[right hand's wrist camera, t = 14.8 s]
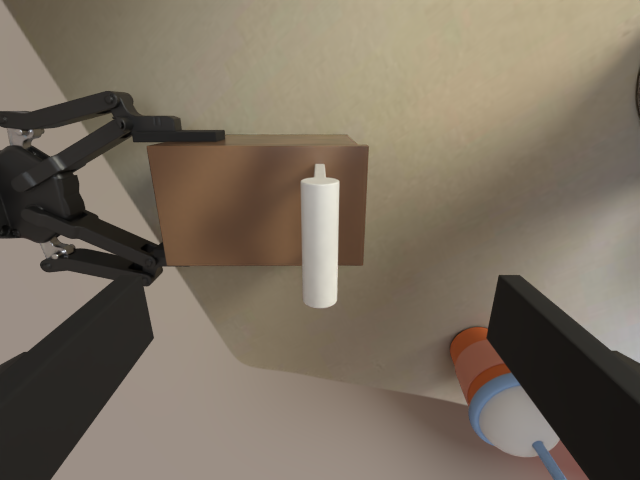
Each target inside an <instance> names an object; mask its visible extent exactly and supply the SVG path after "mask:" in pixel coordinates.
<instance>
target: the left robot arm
mask: <svg viewBox="0 0 640 480" xmlns="http://www.w3.org/2000/svg"><path fill="white" fill-rule="evenodd" d="M109 113H112V114H113V116H114V117H112V118H113V119H114V120H112V121H111V122H109V123H107V124H106V125H104V126H102V127H101V128H99V129H98V130H96V131H94V132H93V133H91V134H89V135H88V136H86V137H85V138H83V139H81V140H80V141H78V142H76V143H75V144H73V145H71V146H70V147H68V148H66V149H65V150H63V151H62V152H60V153H58V154H57V155H54V156H51V157H50V156H48V155H47V154H45V153H43V152H42V151H40V150H39V149H37V148H35V147H34V146H31V141H32V140H33V139H35V138H39V137H40V136H41V135H42V134H43V133H44V129H46V128H56V127H60V126H64V125H68V124H72V123H75V122H79V121H83V120H87V119H90V118H94V117H98V116H101V115H105V114H109ZM0 126H1V127H4V128H7V132H8V137H9V142H10V146H7V147H6V148H4V149H3V150H0V238H26V239H29V240H31V241H33V242H36V243H40V245H41V247H42V250H43V252H44V254H45V257H46V259H45V260H43V261H42V262H41V263H40V266H41V268H42V270H44V271H46V272H57V271H67V270H68V271H73V272H78V273H82V274H88V275H92V276H97V277H102V278H107V279H112V280H115V279H116V278H117V277H119V276H120V275H141V277H142V282H143V286H149V285H150V284H151V283H153V281H154V280H155V279H156V278H157V277H158V276H159V275H160V274H161V273H162V272H163V268H162V266H167V263H166V257H165V251H164V245H163V242H162V243H161V244H159V245H157V244H155V243H152V242H150V241H148V240H146V239H143V238H141V237H139V236H137V235H134V234H132V233H130V232H127V231H125V230H123V229H121V228H118V227H116V226H114V225H112V224H109V223H107V222H105V221H103V220H100V219H99V218H98V216H97V215H96V214H93V213H91V212H89V211H87V210H85V205H84V201H83V199H82V197H81V195H80V194H79V181H78V177H77V175H73V172H75V171H77V170H78V169H80V168H82V167H83V166H85V165H86V163H88V162H89V161H91V160H93V159H95V158H96V157H98V156H100V155H101V154H103V153H105V152H106V151H108V150H110V149H111V148H113V147H115V146H116V145H118V144H120V143H121V142H123V141H125V140H126V139H128V138H130V137H131V136H132V137H133V142H217V141H221V140H224V139H225V131H224V130H182V128H181V120H180V118H178V117H175V116H143V115H140V114H139V113H138V112H137V111H136V110H135V108H134V106H133V98H132V96H131V95H130V94H128V93H125V92H114V91H105V92H101V93H97V94H94V95H90V96H87V97H83V98H79V99H76V100H72V101H68V102H65V103H61V104H58V105H54V106H50V107H47V108H43V109H40V110H36V111H32V112H29V111H0ZM60 235H63V236H65V237H67V238H71V239H81V240H83V241H85V242H88V243H90V244H92V245H95V246H97V247H99V248H102V249H104V250H106V251H109V252H111V253H113V254H116V255H113V254H108V253H103V252H99V251H94V250H89V249H75V246H74V245H72V244H70V245H68V244H63V243H61V242H60V241H59V240H58V239H57V237H58V236H60Z"/></svg>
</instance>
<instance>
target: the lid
mask: <svg viewBox="0 0 640 480" xmlns="http://www.w3.org/2000/svg"><path fill="white" fill-rule="evenodd" d="M368 151H369V146H368V145H149V146H147V152H148V158H149V164H150V169H151V175H152V181H153V187H154V193H155V199H156V204H157V210H158V216H159V222H160V228H161V234H162V240H163V245H164V251H165V257H166V263H167V266H302V280H303V301H304V303H305V304H306V305H308V306H310V307H313V308H327V307H330V306H332V305H334V304H335V303H336V301H337V278H338V265H363V255H364V234H365V213H366V193H367V172H368Z"/></svg>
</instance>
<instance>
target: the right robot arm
mask: <svg viewBox="0 0 640 480" xmlns="http://www.w3.org/2000/svg"><path fill="white" fill-rule="evenodd" d="M637 100H638V108H639V113H640V76H639V81H638V90H637ZM153 338H154V336H153V331H152V327H151V322H150V317H149V312H148V307H147V302H146V297H145V292H144V287H143V282H142V277H141V275H120V276H119V277H117V278H116V279H115V280H114V281H113V282H111V283H110V284H109V285H108V286H107V287H105V288H104V289H103V290H102V291H101V292H99V293H98V294H97V295H96V296H94V297H93V298H92V299H91V300H90V301H88V302H87V303H86V304H85V305H84V306H82V307H81V308H80V309H79V310H78V311H76V312H75V313H74V314H73V315H71V316H70V317H69V318H68V319H67V320H65V321H64V322H63V323H62V324H61V325H59V326H58V327H57V328H56V329H55V330H53V331H52V332H51V333H50V334H49V335H47V336H46V337H45V338H44V339H42V340H41V341H40V342H39V343H38V344H36V345H35V346H34V347H33V348H32V349H30V350H29V351H28V352H23V353H21V354H19V355H18V356H16V357H14V358H12V359H10V360H8V361H7V362H5V363H3V364H1V365H0V480H51V478H52V477H53V475H54V474H55V473H56V472H57V470H58V469H59V467H60V466H61V465H62V463H63V462H64V460H65V459H66V458H67V456H68V455H69V454H70V452H71V451H72V450H73V448H74V447H75V445H76V444H77V443H78V441H79V440H80V438H81V437H82V436H83V434H84V433H85V432H86V430H87V429H88V428H89V426H90V425H91V424H92V422H93V421H94V419H95V418H96V417H97V415H98V414H99V412H100V411H101V410H102V408H103V407H104V406H105V404H106V403H107V401H108V400H109V399H110V397H111V396H112V395H113V393H114V392H115V391H116V389H117V388H118V386H119V385H120V384H121V382H122V381H123V380H124V378H125V377H126V376H127V374H128V373H129V371H130V370H131V369H132V367H133V366H134V365H135V363H136V362H137V360H138V359H139V358H140V356H141V355H142V354H143V352H144V351H145V349H146V348H147V347H148V345H149V344H150V343H151V341H152V340H153ZM486 339H487V340H488V341H489V343H490V344H491V345H492V347H493V348H494V349H495V351H496V352H497V354H498V355H499V356H500V358H501V359H502V360H503V362H504V363H505V365H506V366H507V367H508V369H509V370H510V371H511V373H512V374H513V376H514V377H515V378H516V380H517V381H518V382H519V384H520V385H521V386H522V388H523V389H524V391H525V392H526V393H527V395H528V396H529V397H530V399H531V400H532V402H533V403H534V404H535V406H536V407H537V408H538V410H539V411H540V413H541V414H542V415H543V417H544V418H545V419H546V421H547V422H548V424H549V425H550V426H551V428H552V429H553V430H554V432H555V433H556V434H557V436H558V437H559V439H560V440H561V441H562V443H563V444H564V445H565V447H566V448H567V450H568V451H569V452H570V454H571V455H572V456H573V458H574V459H575V461H576V462H577V463H578V465H579V466H580V467H581V469H582V470H583V471H584V473H585V474H586V475H587V477H588V478H589V480H640V363H638V362H636V361H634V360H633V359H631V358H629V357H627V356H625V355H623V354H621V353H620V352H618V351H611V350H610V349H608V348H607V347H606V346H605V345H604V344H602V343H601V342H600V341H599V340H598V339H596V338H595V337H594V336H593V335H592V334H590V333H589V332H588V331H587V330H585V329H584V328H583V327H582V326H581V325H579V324H578V323H577V322H576V321H575V320H573V319H572V318H571V317H570V316H569V315H567V314H566V313H565V312H564V311H562V310H561V309H560V308H559V307H558V306H556V305H555V304H554V303H553V302H552V301H550V300H549V299H548V298H547V297H546V296H544V295H543V294H542V293H541V292H539V291H538V290H537V289H536V288H535V287H533V286H532V285H531V284H530V283H529V282H527V281H526V280H525V279H524V278H523V277H521V276H520V275H499V277H498V282H497V287H496V292H495V297H494V302H493V307H492V312H491V317H490V322H489V327H488V331H487V336H486Z"/></svg>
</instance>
